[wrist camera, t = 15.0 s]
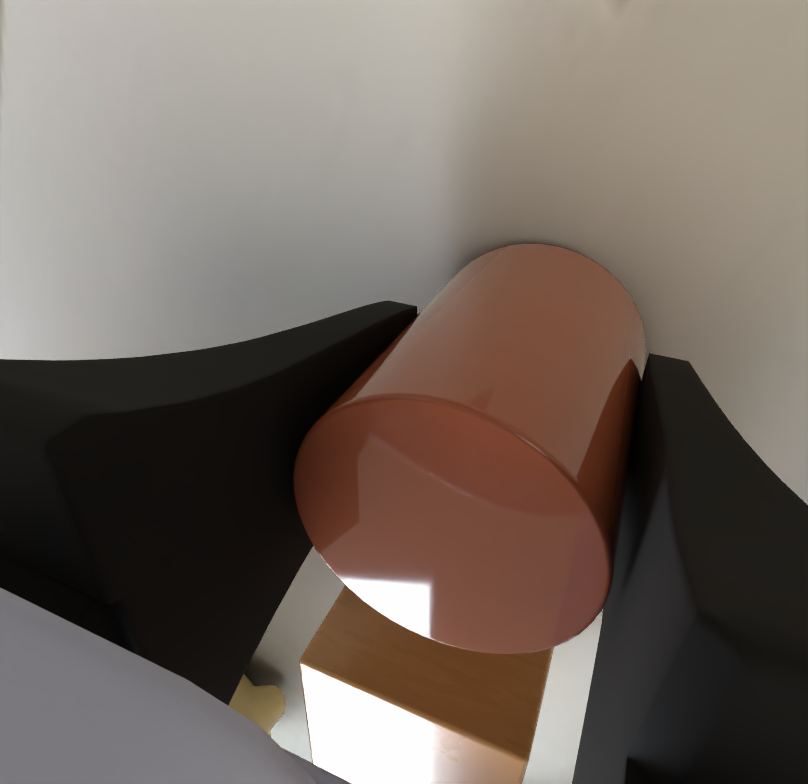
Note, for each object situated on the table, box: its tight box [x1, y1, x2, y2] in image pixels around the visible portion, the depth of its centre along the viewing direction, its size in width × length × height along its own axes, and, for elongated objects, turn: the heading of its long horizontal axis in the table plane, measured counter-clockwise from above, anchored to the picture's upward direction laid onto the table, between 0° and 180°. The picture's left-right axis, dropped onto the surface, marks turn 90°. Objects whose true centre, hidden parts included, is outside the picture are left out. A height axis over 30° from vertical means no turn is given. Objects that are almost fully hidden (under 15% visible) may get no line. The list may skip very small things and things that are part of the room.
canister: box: [293, 244, 646, 654], centre depth 9 cm, size 4×4×6 cm
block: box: [299, 585, 554, 784], centre depth 14 cm, size 5×5×5 cm
